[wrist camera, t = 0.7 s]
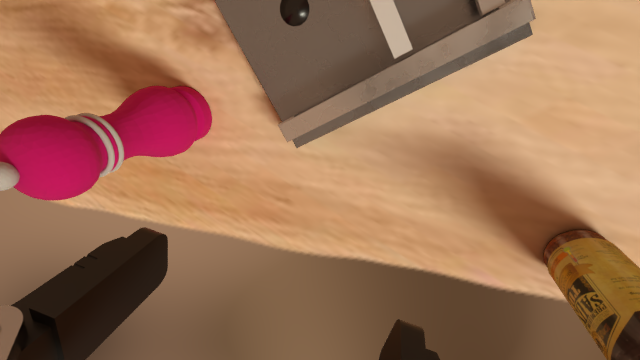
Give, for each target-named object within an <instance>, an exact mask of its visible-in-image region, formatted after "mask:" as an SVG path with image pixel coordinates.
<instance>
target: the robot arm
mask: <svg viewBox="0 0 640 360" xmlns="http://www.w3.org/2000/svg"><path fill="white" fill-rule="evenodd" d="M167 248H168V240H167V236H166V235H164V234H162V233H159V232H156V231H154V230H151V229H148V228H141V229H139V230H137V231H136V232H134V233H133V234H132V235H130V236H129V237H127V238H124V237H120V238H117V239H115V240H112V241H109V242H107V243H104V244H102V245H101V246H99V247H98V248H96V249H95V250H93V251H92V252H90V253H89V254H88V255H87V257H83V258H82V259H80V260H79V261H77V262H76V263H75V264H74V265H73V266H70V267H69V268H67V269H65V270H64V271H62V272H61V273H59V274H58V275H56V276H55V277H54V278H52V279H50V280H49V281H48V282H46V283H45V284H43V285H42V286H40V287H39V288H37V289H36V290H34V291H33V292H31V293H30V294H28V295H27V296H25V297H24V298H23V299H21V300H20V301H18V302H16V303H15V304H13V305H11V306H8V305H0V360H85V359H86V358H88V357H89V356H90V355H91V354H92V353H93V352H94V351H95V349H97V348H98V346H100V345H101V343H103V341H104V340H105V339H106V338H107V337H108V336H109V335H110V334H111V333H112V332H113V331H114V330H115V329H116V328H117V327H118V326H119V325H120V324H121V323H122V322H123V321H124V320H125V319H126V318H127V317H128V316H129V315H130V314H131V313H132V312H133V311H134V310H135V309H136V308H137V307H138V306H139V305H140V304H141V303H142V302H143V301H144V300H145V299H146V298H147V297H148V296H149V295H150V294H151V293H152V292H153V291H154V290H155V289H156V288H157V287H158V286H159V285H160V284H161V282H162V280H163V279H164V277H165V275H166V272H167V266H168V257H167V256H168V249H167ZM379 360H440V359H439V357H438V354H437V353H436V352H433V351H431V350H428V349H426V348H425V338H424V330H423V328H421V327H419V326H416V325H413V324H410V323H408V322H405V321H402V320H399V319H398V320H397V321H396V322H395V324H394V326H393V328H392V330H391V332H390V334H389V336H388V338H387V340H386V342H385V344H384V346H383V348H382V350H381V353H380V357H379Z"/></svg>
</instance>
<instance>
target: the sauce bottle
mask: <svg viewBox="0 0 640 360" xmlns="http://www.w3.org/2000/svg"><path fill="white" fill-rule="evenodd" d="M543 255H544V262H545V264H546V266H547V268H548V271H549V274H550V275H551V277H552V278H553V280H554V281H555V283H556V284H557V286H558V287H559V289H560V290H561V292H562V293H563V295H564V296H565V298H566V299H567V301H568V302H569V304H570V305H571V307H572V308H573V310H574V311H575V313H576V314H577V316H578V317H579V319H580V320H581V321H582V323H583V325H584V326H585V328H586V329H587V331H588V332H589V334H590V335H591V336H592V338H593V339H594V341H595V342H596V344H597V345H598V347H599V348H600V350H601V351H602V353H603V354H604V356H605V357H606V359H607V360H640V268H639V267H638V266H637V265H636V264H635V263H634V262H633V261H632V260H631V259H629V258H628V257H627V256H626V255H625V254H624V253H623V252H622V251H621V250H620V249H619V248H618V247H616V246H615V245H614V244H613V243H611V242H609V241H608V240H606V239H605V238H604V237H602V236H601V235H599V234H598V233H595V232H592V231H587V230H574V231H568V232H565V233H562V234H559V235H558V236H556V237H555V238H553V239H552V240H551V241H550V242H549V243H548V245H547V247H546V249H545V251H544V254H543Z"/></svg>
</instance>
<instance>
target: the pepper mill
mask: <svg viewBox="0 0 640 360" xmlns="http://www.w3.org/2000/svg"><path fill="white" fill-rule="evenodd" d="M211 123H212V116H211V111H210V108H209V105H208V103H207V102H206V100H205V99H204V97H203V96H202V95H201V94H200V93H198V92H197V91H196V90H194V89H192V88H190V87H186V86H177V87H172V88H167V87H164V86H150V87H147V88H143V89H140V90H138V91H137V92H135V93H133V94H132V95H131V96H129V97H128V98H127V99H126V100H125V101H124V102H123V103H122V104H121V105H120V106H119V107H118V108H117V109H116V110H115V111H114V112H112V113H111V114H108V115H104V116H97V115H94V114H90V113H81V114H78V115H74V116H68V117H66V118H61V117H57V116H52V115H39V116H32V117H27V118H24V119H21V120H18V121H16V122H15V123H13V124H11V125H9V126H8V127H7V128H6V129H5V130H3V131H2V132H1V134H0V191H3V190H7V189H10V188H12V187H14V188H16V189H17V190H18V191H20V192H22V193H24V194H26V195H28V196H30V197H33V198H37V199H42V200H63V199H68V198H72V197H75V196H78V195H80V194H82V193H84V192H85V191H87V190H89V189H90V188H91V187H92V186H93V185H94V184H95V183H96V181H97V180H98V178H99V177H103V176H105V175H107V174H108V173H111V172H114V171H116V170H117V169H119V168H120V166H121V165H122V163H123V161H124V160H125V159H127V158H130V157H133V156H151V157H168V156H174V155H177V154H180V153H182V152H184V151H186V150H187V149H188V148H190V147H191V145H192V144H193V142H194V141H196V140H198V139H200V138H202V137H204V136H205V135H206V134H207V133H208V132H209V130H210V127H211Z"/></svg>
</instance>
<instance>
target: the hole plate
mask: <svg viewBox="0 0 640 360" xmlns="http://www.w3.org/2000/svg"><path fill="white" fill-rule="evenodd" d="M393 1H394V4H395V6H396V9H397V11H398V13H399V16H400V18H401V21H402V23H403V26H404V28H405V31H406V33H407V36H408V38H409V41H410V43H411V46H412V48H413V49H412V50H411V51H409V52H407V53H405V54H403V55H401V56H399V57H397V58H396V59H394V57H393V54H392V52H391V49H390V47H389V45H388V42H387V40H386V38H385V35H384V33H383V31H382V28H381V26H380V24H379V21H378V19H377V16H376V14H375V12H374V9H373V7H372V5H371V2H370V0H215V2H216V4H217V6H218V8H219V9H220V11H221V13H222V15H223V17H224V18H225V20H226V22H227V24H228V26H229V27H230V29H231V31H232V33H233V34H234V36H235V38H236V40H237V42H238V43H239V45H240V47H241V49H242V51H243V52H244V54H245V56H246V58H247V60H248V61H249V63H250V65H251V67H252V69H253V70H254V72H255V74H256V76H257V78H258V79H259V81H260V83H261V85H262V86H263V88H264V90H265V92H266V94H267V95H268V97H269V99H270V101H271V103H272V104H273V106H274V108H275V110H276V112H277V113H278V115H279V117H280V119H281V121H282V122H281V123H279V124H278V126H279V128H280V130H281V132H282V133H283V135H284V137H285V139H286V141H287V142H289V141H291V140H293V142H294V144H295V146H296V147H297V148H298V147H300V146H302V145H304V144H306V143H308V142H310V141H312V140H314V139H317V138H319V137H321V136H323V135H325V134H327V133H329V132H331V131H333V130H335V129H337V128H339V127H342V126H344V125H346V124H348V123H350V122H352V121H354V120H356V119H358V118H360V117H362V116H364V115H366V114H369V113H371V112H373V111H375V110H377V109H379V108H381V107H383V106H385V105H387V104H389V103H391V102H394V101H396V100H398V99H400V98H402V97H404V96H406V95H408V94H410V93H412V92H414V91H416V90H418V89H421V88H423V87H425V86H427V85H429V84H431V83H433V82H435V81H437V80H439V79H441V78H443V77H446V76H448V75H450V74H452V73H454V72H456V71H458V70H460V69H462V68H464V67H466V66H468V65H470V64H473V63H475V62H477V61H479V60H481V59H483V58H485V57H487V56H489V55H491V54H493V53H495V52H498V51H500V50H502V49H504V48H506V47H508V46H510V45H512V44H514V43H516V42H518V41H520V40H522V39H525V38H527V37H529V36H531V35H533V34H532V30H531V27H530V24H529V22H530V21H532V20H534V19H536V18H535V14H534V11H533V7H532V4H531V0H393Z"/></svg>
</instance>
